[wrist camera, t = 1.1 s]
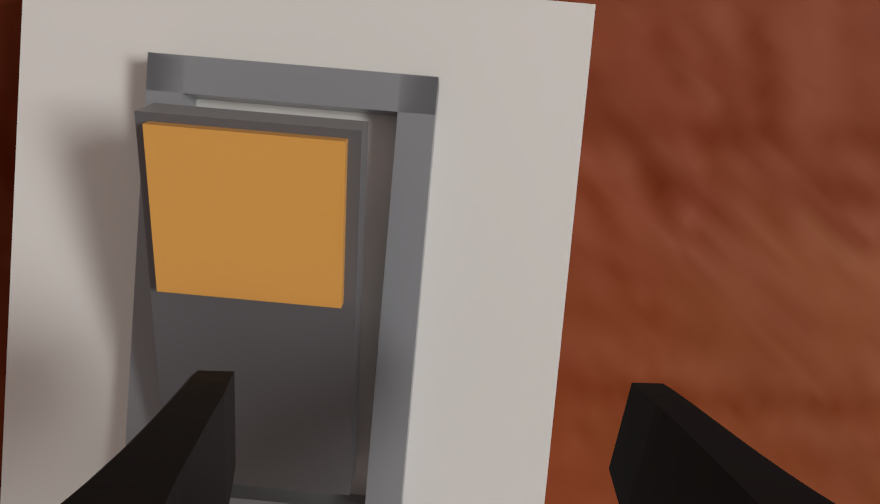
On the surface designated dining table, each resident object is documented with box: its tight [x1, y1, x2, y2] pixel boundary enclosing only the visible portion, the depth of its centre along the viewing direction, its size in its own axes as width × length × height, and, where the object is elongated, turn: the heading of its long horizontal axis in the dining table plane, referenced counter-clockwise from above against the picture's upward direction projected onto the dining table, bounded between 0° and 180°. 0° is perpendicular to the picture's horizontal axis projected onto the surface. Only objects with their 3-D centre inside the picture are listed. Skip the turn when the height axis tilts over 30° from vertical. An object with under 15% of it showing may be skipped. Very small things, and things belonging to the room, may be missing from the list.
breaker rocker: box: [134, 103, 369, 495], centre depth 17 cm, size 10×5×1 cm, turn 175°
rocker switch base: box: [0, 0, 596, 504], centre depth 21 cm, size 18×16×4 cm
